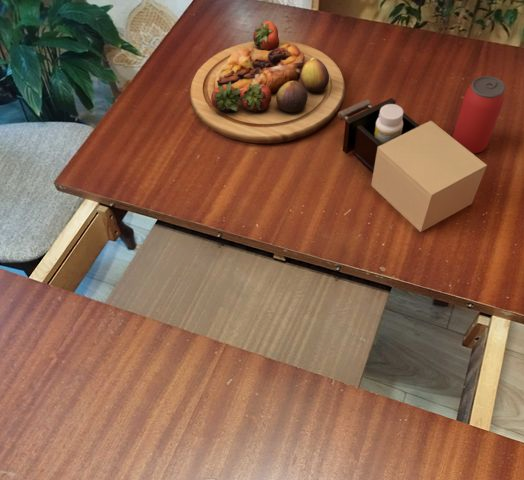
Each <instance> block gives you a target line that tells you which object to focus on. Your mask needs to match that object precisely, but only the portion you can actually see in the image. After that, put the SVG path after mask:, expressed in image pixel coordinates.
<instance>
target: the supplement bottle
mask: <svg viewBox="0 0 524 480" xmlns="http://www.w3.org/2000/svg"><path fill="white" fill-rule="evenodd" d="M403 112H404V109H403V107H402V106H400V105H398V104H396V103H395V104H387V105H384V106H383V107H382V108H381V109H380V113H379V118H378V119H377V121H376V126H375V133H374V137H375V138H376V139H377V140H379V141H380V142H381V143H382V144H385V143H387V142H389V141H391V140H393V139H395V138H397V137H399V136H401V133H402V128H403V120H402V118H403Z"/></svg>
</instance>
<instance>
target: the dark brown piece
mask: <svg viewBox="0 0 524 480" xmlns="http://www.w3.org/2000/svg"><path fill="white" fill-rule="evenodd" d="M387 104H395V105H396V99H394V98H393V97H390V98H388V99H386V100H384V101H382V102H379V103H378V104H376V105H372V102H371V100H370V99H368V98H366V99H364V100H362V101H360V102H357V103H355V104H353V105H351V106H349V107H346V108H344V109H342V110H340V111H338V112H337V117H338V120H340V121H345V122H344V133H343V142H342V152H343V153H345V154H346V155H347V154H350V153H351V152H353V156H354V157H355V158H356V159H357V160H358V161H359V162H360V163H361V164H363V165H364V167H366V169H368V171H370V172H371V173H372V174H373V172H374V166H375V160H376V154H377V148H378V146H380V145H383V144H382V143H381V142H380V141H379V140H377V139H376V138H375V137H374V133H375V126H376V121H377V119H378V118H379V113H380V109H381V108H382V107H383V106H384V105H387ZM402 120H403V128H402V133H401V135H403V134H405V133H407V132H409V131H411V130H413V129H415V128H417V127H419V126H421V125H420V124H418V122H416V121H415V120H414V119H412V118H411V117H410V116H409V115H408V114H406V113H405V112H404V111H403V118H402Z"/></svg>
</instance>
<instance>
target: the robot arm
mask: <svg viewBox="0 0 524 480" xmlns="http://www.w3.org/2000/svg"><path fill="white" fill-rule="evenodd" d="M410 1H411V2H412V3H414V4H415V5H416V6H418V7H423V6H425V5H426V0H410Z"/></svg>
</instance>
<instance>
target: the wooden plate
mask: <svg viewBox="0 0 524 480" xmlns="http://www.w3.org/2000/svg"><path fill="white" fill-rule="evenodd" d="M254 28H255V29H254V32H253V36H252V37H253V38H252V40H253V41H247V42H244V43H240V44H236V45H234V46H231V47H228V48H226V49H224V50H221V51H220V52H217V53H215V54H214V55H213V56H212V57H210V58H209V59H207V60H206V61H205V62H204V63H203V64H202V65H201V66H200V67H199V68H198V70H197V71H196V73H195V74H194V76H193V79H192V80H191V81H192V82H191V85H190V89H189V99H190V104H191V107H192V109H193V111H194V113H195V114H196V116H197V118H198V119H199V120H200V121H201V122H202V123H203V124H204V125H205V126H207V128H209V129H210V130H212V131H214V132H216V133H217V134H219V135H220V136H221V135H222V136H223V137H227V138H229V139H232V140H236V141H241V142H245V143H251V144H277V143H283V142H291V141H293V140H297V139H300V138H304V137H306V136H308V135H311V134H313V133H315V132H316V131H318V130H319V129H321V128H323V127H324V126H325V125H326V124H328V123H329V122H330V121H331V120H332V119H333V118H334V117H335V115H336V114H338V112H339V110H340V108H341V106H342V104H343V102H344V99H345V95H346V84H345V79H344V78H345V77H344V75H343V73H342V70H341V69H340V67H338V65H337V63H336V62H334V60H333V59H332V58H330V57H329V56H328V55H327V54H325V53H324V52H323V51H321V50H319V49H316V48H315V47H314V46H313V47H312V46H311V45H307V44H304V43H300V42H296V41H292V40H283V39H280V38H279V29H278V27H277V26H276V25H275V23H274V22H273V21H270V20H266V21H264V22H263V23H262V22H261V24H260V26H259V27H256V26H255V27H254Z"/></svg>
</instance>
